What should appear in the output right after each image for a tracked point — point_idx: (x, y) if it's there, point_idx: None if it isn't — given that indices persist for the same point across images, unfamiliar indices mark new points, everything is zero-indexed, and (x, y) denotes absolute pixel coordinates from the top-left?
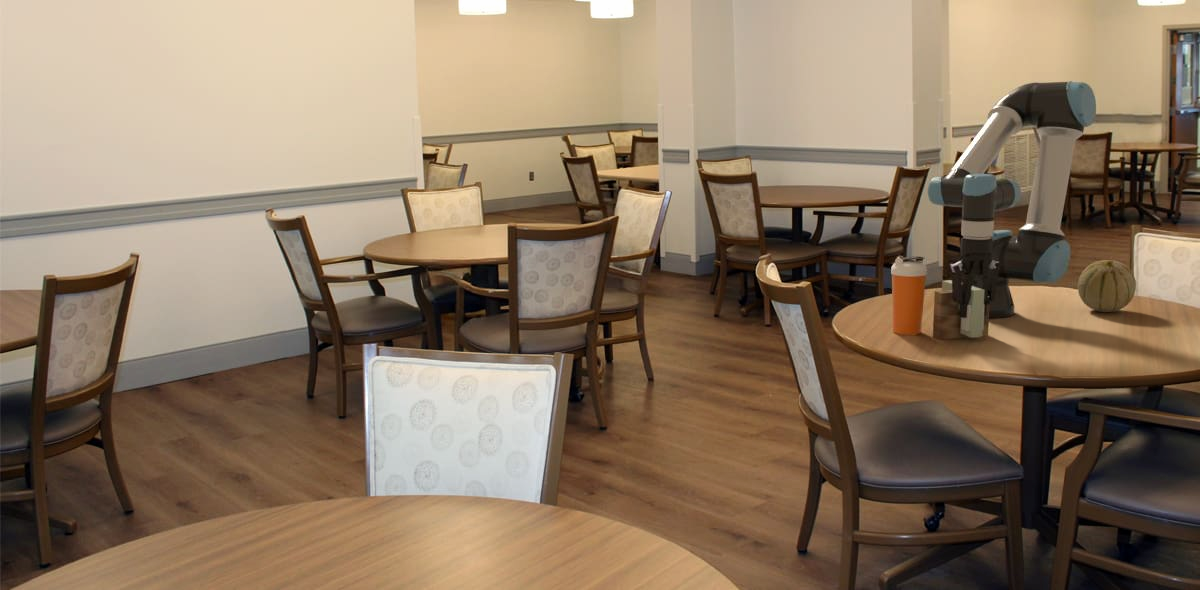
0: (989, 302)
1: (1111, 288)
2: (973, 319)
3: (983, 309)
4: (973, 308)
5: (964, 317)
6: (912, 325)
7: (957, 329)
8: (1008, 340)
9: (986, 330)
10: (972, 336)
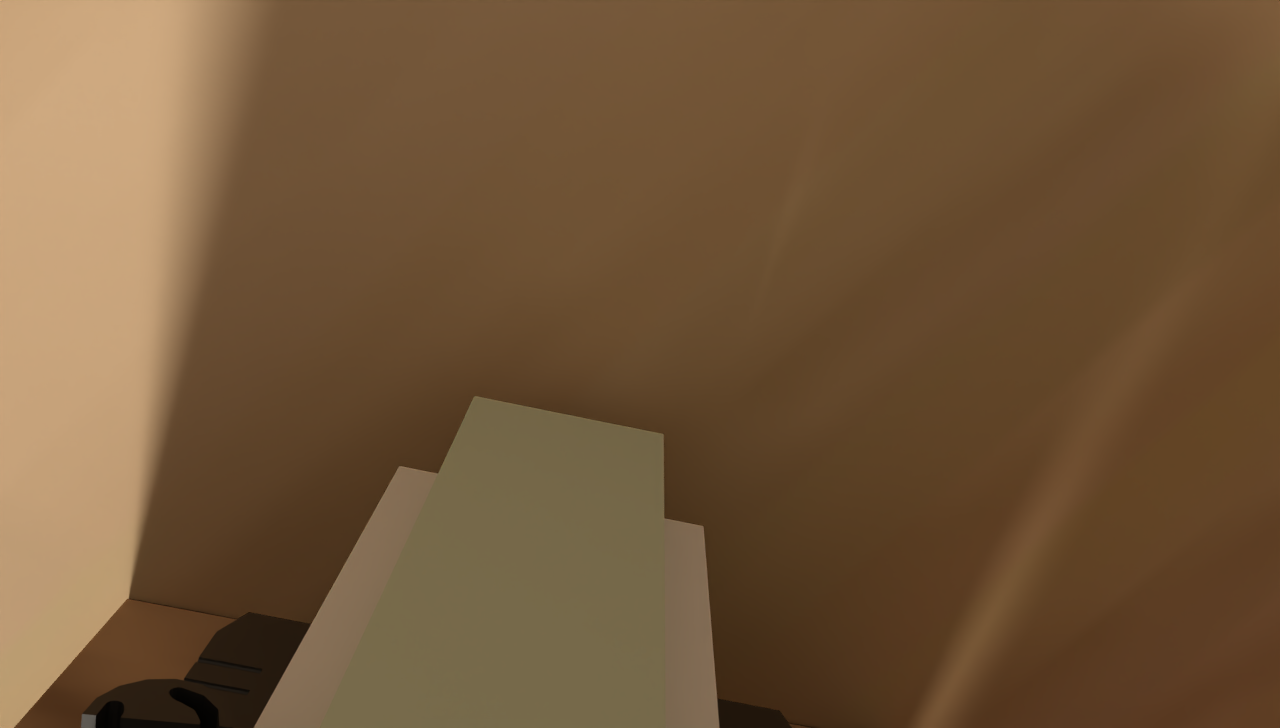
0: (105, 716)
1: None
2: (632, 571)
3: (310, 672)
4: (642, 713)
5: (748, 708)
6: None
7: None
8: (53, 247)
9: (125, 642)
10: (643, 435)
